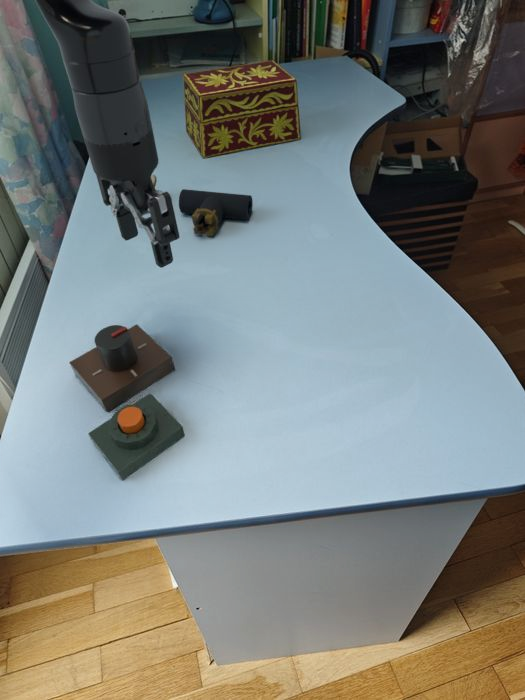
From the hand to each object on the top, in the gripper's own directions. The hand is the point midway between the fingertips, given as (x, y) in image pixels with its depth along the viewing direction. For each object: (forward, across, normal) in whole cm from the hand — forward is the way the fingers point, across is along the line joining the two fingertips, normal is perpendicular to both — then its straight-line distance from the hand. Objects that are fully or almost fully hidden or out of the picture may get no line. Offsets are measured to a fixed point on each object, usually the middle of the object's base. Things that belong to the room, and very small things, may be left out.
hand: (147, 250), depth 65 cm
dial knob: (+16, -1, -8) cm, 18 cm away
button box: (+19, +11, -13) cm, 26 cm away
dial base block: (+19, -1, -8) cm, 21 cm away
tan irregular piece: (+19, -43, +22) cm, 52 cm away
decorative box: (+19, -54, +61) cm, 83 cm away
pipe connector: (+19, -25, +28) cm, 42 cm away
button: (+15, +11, -13) cm, 23 cm away
